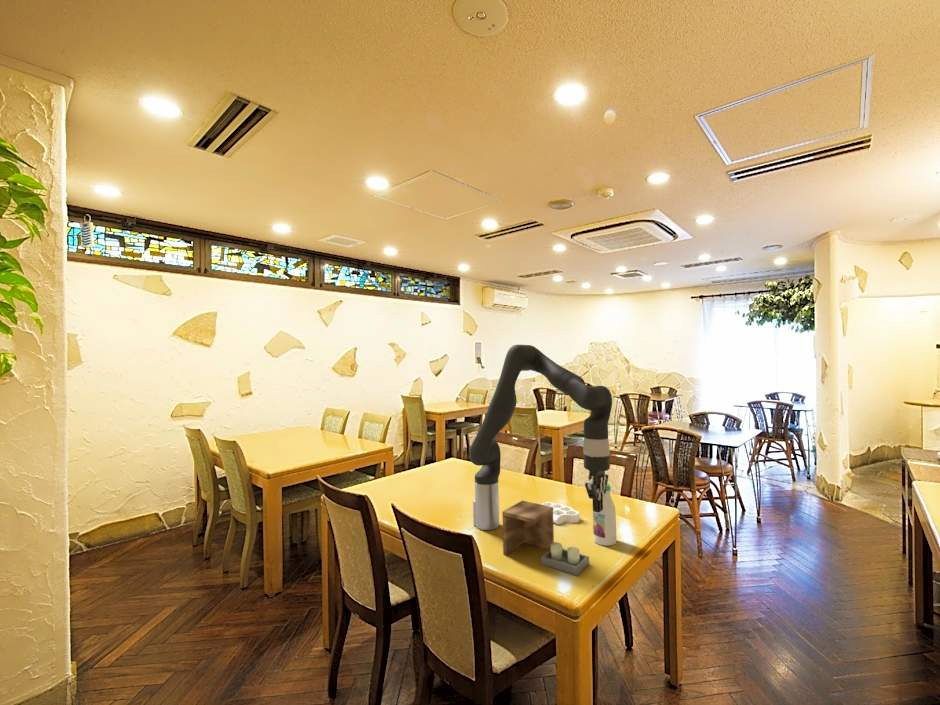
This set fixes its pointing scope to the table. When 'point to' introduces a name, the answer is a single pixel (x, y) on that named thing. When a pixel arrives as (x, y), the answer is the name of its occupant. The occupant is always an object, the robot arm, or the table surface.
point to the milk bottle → (605, 522)
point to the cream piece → (573, 556)
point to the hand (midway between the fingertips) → (597, 510)
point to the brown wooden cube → (527, 526)
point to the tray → (565, 563)
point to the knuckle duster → (563, 513)
